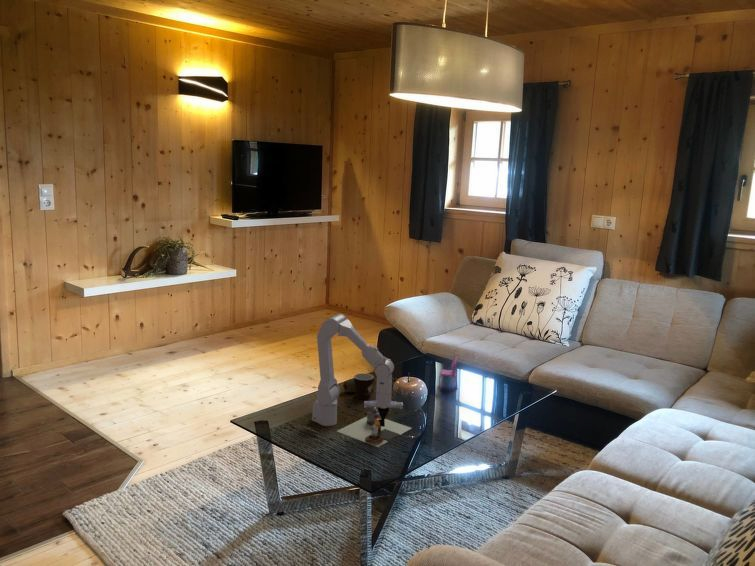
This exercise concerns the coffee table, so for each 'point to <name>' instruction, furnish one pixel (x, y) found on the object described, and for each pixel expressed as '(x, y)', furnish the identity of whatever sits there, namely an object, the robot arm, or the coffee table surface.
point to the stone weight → (352, 385)
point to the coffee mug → (363, 385)
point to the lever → (378, 423)
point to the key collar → (375, 442)
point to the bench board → (363, 430)
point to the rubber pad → (388, 434)
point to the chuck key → (374, 432)
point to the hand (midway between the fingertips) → (382, 425)
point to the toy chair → (449, 371)
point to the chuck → (372, 416)
